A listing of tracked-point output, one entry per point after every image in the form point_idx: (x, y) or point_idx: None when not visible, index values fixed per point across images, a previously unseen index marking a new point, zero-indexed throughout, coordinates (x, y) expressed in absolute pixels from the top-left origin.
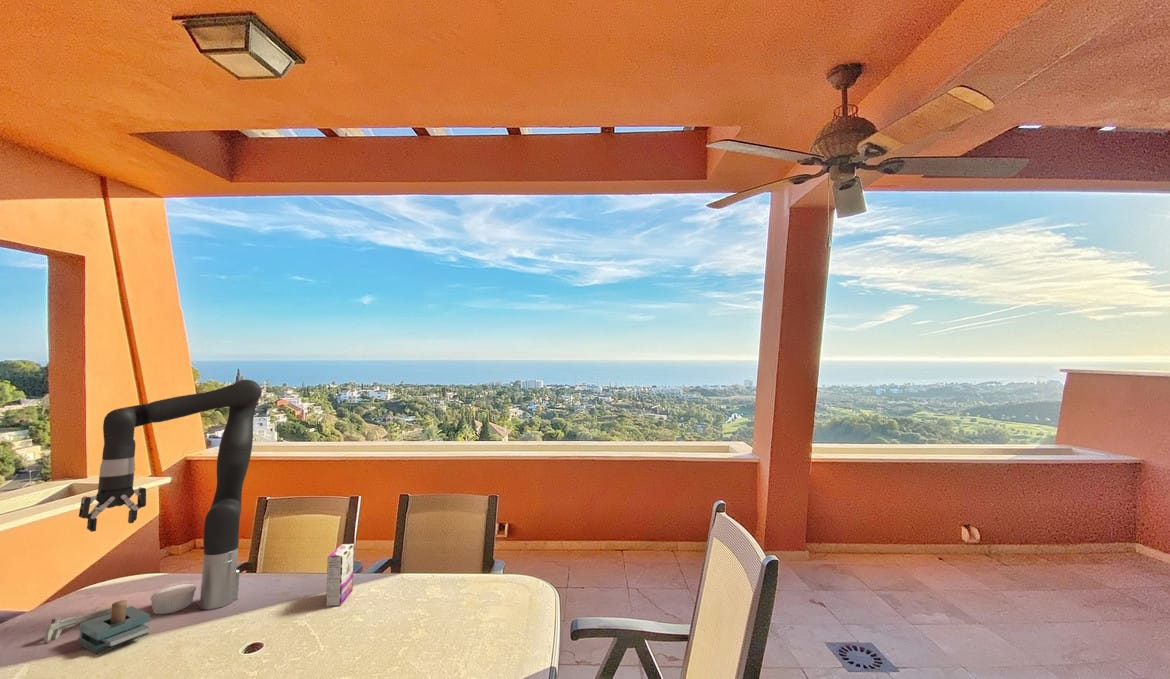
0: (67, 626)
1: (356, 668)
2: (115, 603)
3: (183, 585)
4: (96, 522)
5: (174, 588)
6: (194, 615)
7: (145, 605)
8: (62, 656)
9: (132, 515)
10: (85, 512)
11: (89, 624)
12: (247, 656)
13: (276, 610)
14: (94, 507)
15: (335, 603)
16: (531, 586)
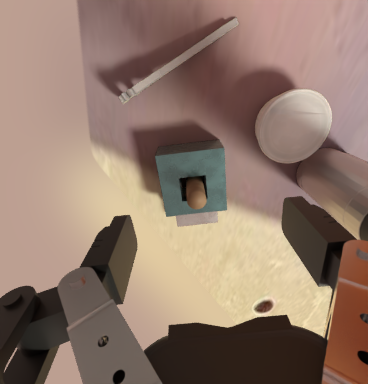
0: (148, 86)
1: None
2: (191, 198)
3: (322, 103)
4: (127, 281)
5: (307, 100)
6: (279, 187)
7: (264, 59)
8: (140, 173)
9: (306, 263)
10: (25, 380)
11: (163, 173)
12: (252, 315)
13: None
14: (71, 337)
15: None
16: None
